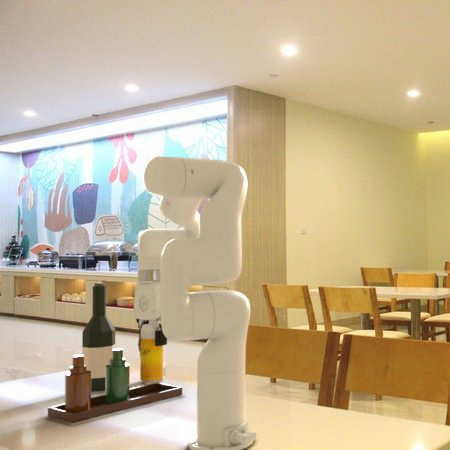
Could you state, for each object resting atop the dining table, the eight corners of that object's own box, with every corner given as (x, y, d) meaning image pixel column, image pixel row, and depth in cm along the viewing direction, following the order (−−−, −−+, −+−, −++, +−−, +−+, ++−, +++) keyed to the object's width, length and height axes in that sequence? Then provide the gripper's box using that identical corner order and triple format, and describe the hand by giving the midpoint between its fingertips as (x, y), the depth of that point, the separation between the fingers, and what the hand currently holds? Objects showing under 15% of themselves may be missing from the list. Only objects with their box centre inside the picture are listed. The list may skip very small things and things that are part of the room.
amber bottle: (95, 413, 145) (96, 355, 145) (72, 419, 140) (73, 359, 141) (83, 410, 148) (83, 352, 148) (60, 416, 143) (60, 356, 144)
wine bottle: (101, 394, 165) (102, 284, 166) (75, 393, 167) (75, 283, 168) (121, 387, 174) (122, 282, 174) (96, 385, 175) (96, 281, 176)
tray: (182, 397, 163) (182, 387, 163) (71, 426, 138) (72, 414, 138) (157, 391, 168) (157, 382, 168) (47, 418, 144) (47, 407, 144)
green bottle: (133, 404, 153) (134, 348, 154) (113, 409, 149) (113, 352, 149) (121, 401, 156) (121, 346, 157) (100, 406, 152) (101, 349, 152)
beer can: (141, 379, 163) (141, 323, 163) (165, 378, 165) (166, 322, 165) (139, 384, 157) (139, 326, 158) (164, 383, 159) (164, 325, 159)
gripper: (121, 276, 163) (120, 343, 163) (161, 278, 154) (160, 349, 153) (146, 274, 169) (145, 339, 169) (186, 276, 160) (185, 345, 160)
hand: (152, 343), depth 161 cm, fingers closed on beer can, 6 cm apart
